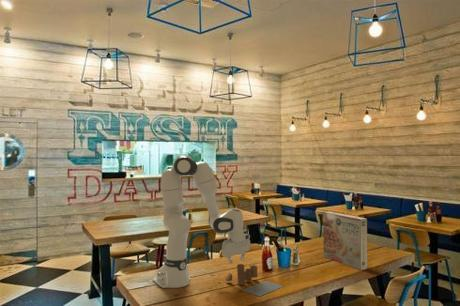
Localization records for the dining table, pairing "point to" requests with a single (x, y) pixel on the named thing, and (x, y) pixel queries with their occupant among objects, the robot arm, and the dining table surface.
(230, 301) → the dining table surface
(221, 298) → the dining table surface
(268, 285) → the mat
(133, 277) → the dining table surface
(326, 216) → the pizza box
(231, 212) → the robot arm
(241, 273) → the wooden block set
